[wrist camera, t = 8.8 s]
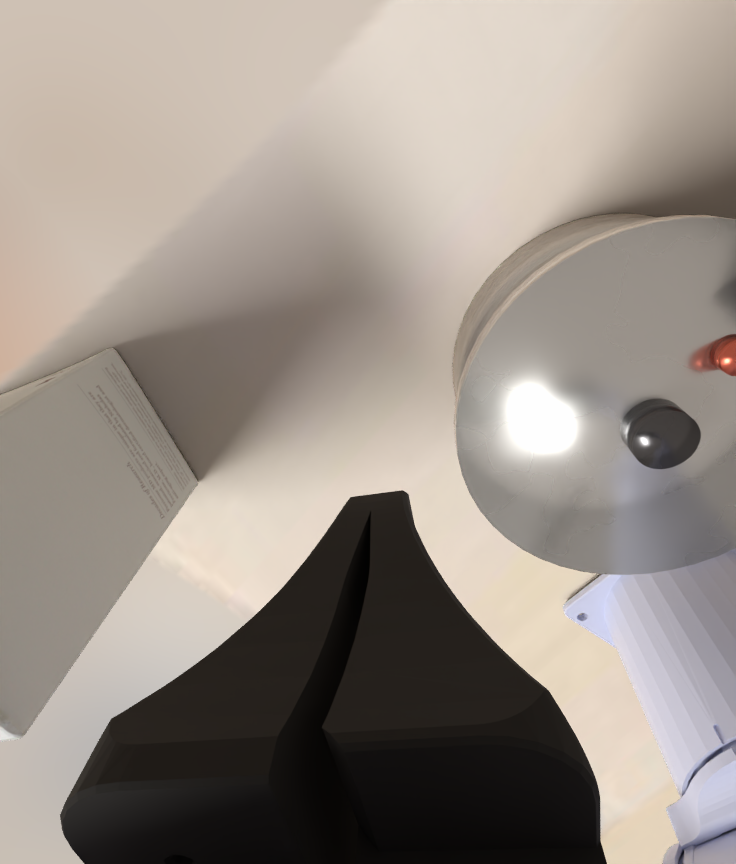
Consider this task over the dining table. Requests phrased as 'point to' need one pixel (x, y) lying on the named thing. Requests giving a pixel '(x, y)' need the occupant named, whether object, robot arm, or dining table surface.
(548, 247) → the pot
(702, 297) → the lid
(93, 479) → the supplement box
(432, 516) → the dining table surface
